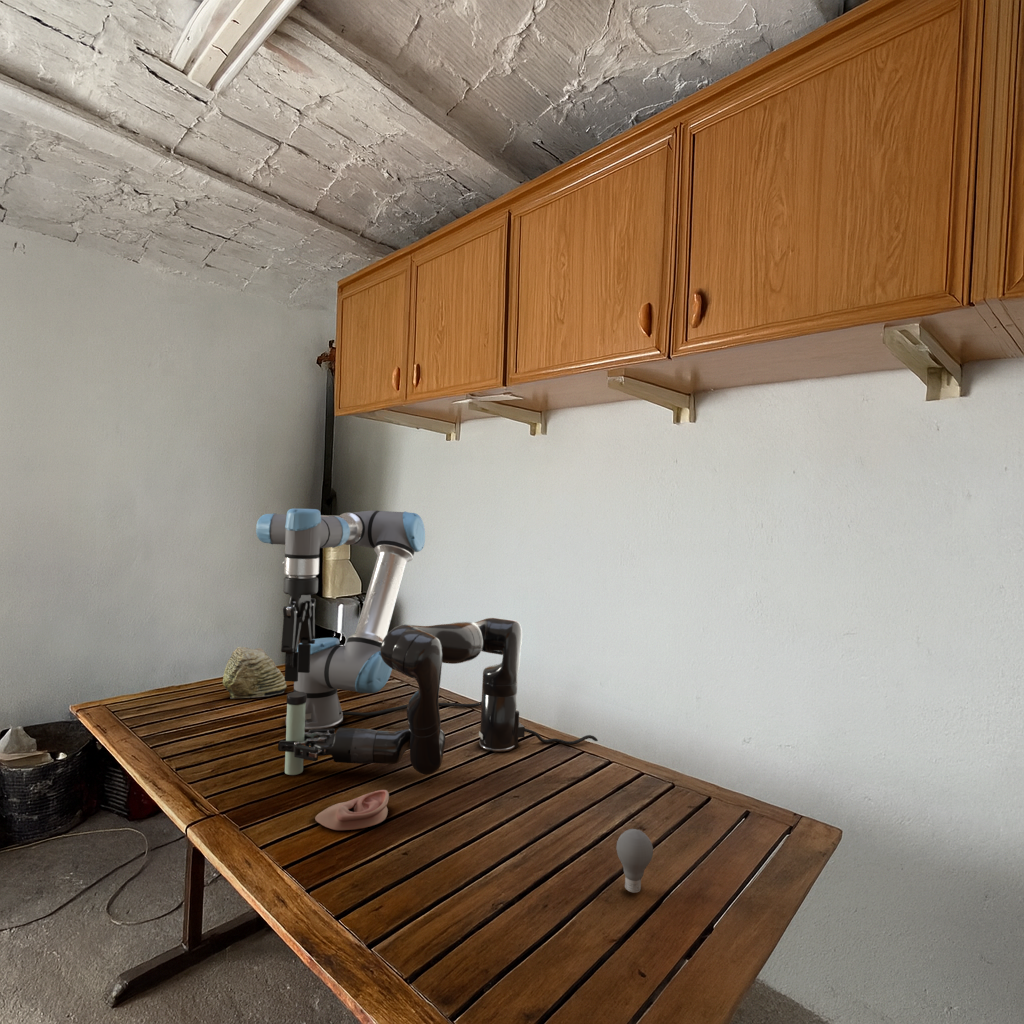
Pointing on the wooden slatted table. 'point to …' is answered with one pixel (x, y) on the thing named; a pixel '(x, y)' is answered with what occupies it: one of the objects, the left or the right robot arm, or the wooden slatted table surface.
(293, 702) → the lid
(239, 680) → the fossil
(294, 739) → the pale green cylinder
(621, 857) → the light bulb
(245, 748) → the wooden slatted table surface
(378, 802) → the anatomical model
